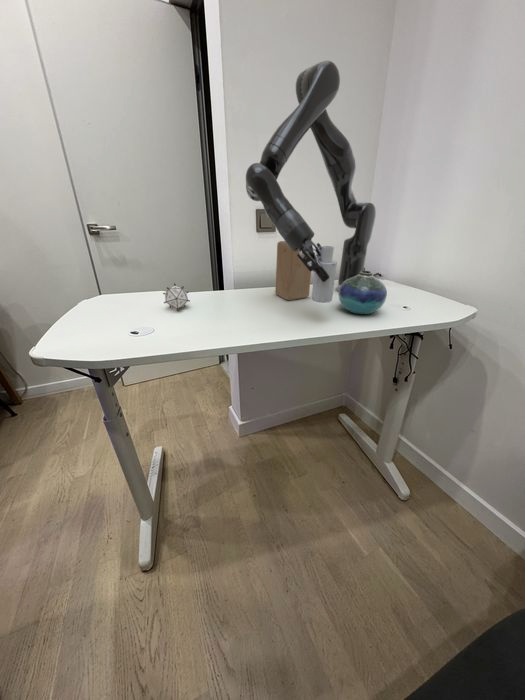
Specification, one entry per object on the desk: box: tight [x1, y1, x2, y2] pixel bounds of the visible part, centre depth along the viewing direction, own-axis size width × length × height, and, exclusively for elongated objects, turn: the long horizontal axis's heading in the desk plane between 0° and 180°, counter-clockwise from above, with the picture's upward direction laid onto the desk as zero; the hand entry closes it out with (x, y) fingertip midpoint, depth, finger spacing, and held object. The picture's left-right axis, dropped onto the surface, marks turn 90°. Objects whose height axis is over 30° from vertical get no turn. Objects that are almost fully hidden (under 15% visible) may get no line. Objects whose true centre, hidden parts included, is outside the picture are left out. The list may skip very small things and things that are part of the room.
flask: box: [311, 245, 338, 304], centre depth 83 cm, size 6×6×15 cm
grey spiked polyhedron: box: [162, 283, 191, 312], centre depth 96 cm, size 9×8×10 cm
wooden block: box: [274, 240, 312, 301], centre depth 109 cm, size 10×10×20 cm
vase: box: [338, 270, 388, 315], centre depth 96 cm, size 15×15×13 cm
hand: (330, 277), depth 83 cm, fingers closed on flask, 6 cm apart
